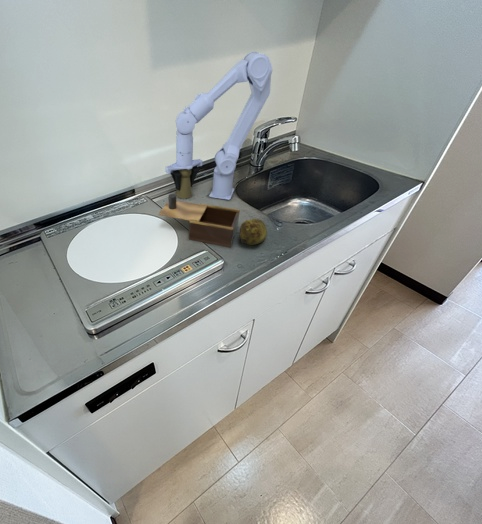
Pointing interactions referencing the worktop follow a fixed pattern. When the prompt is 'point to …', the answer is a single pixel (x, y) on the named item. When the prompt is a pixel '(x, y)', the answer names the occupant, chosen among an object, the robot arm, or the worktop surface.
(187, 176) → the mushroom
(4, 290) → the worktop surface
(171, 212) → the sliding lid
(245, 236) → the potato
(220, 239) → the box
